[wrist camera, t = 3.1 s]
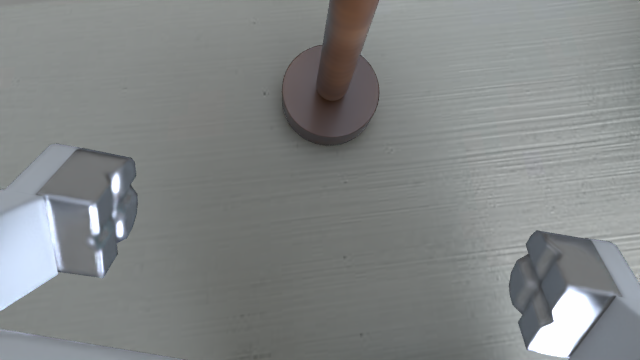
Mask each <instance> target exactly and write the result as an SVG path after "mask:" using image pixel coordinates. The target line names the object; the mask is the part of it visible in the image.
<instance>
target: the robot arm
mask: <svg viewBox="0 0 640 360" xmlns="http://www.w3.org/2000/svg"><path fill="white" fill-rule="evenodd" d="M135 177H136V167H135V161H134V160H133V159H132V158H131V157H126V156H121V155H116V154H111V153H106V152H101V151H96V150H91V149H86V148H79V147H75V146H69V145H64V144H58V143H56V144H51V145H49V146H48V147H47V148H46V149H45V150H44V151H43V152H42V153H41V154H40V155H39V156H38V157H37V158H36V159H35V160H34V161H33V162H32V163H31V164H30V165H29V166H28V167H27V168H26V169H25V170H24V171H23V172H22V173H21V174H20V175H19V176H18V177H17V178H16V179H15V180H14V181H13V182H12V183H11V184H10V185H9V186H8V187H7V188H6V189H5V190H4V189H0V311H1V310H3V309H4V308H6V307H7V306H9V305H11V304H12V303H14V302H15V301H17V300H18V299H20V298H22V297H23V296H25V295H26V294H28V293H29V292H31V291H32V290H34V289H36V288H37V287H39V286H40V285H42V284H43V283H45V282H47V281H48V280H50V279H51V278H53V277H54V276H56V275H57V274H58V272H63V273H70V274H77V275H84V276H91V277H98V278H104V276H105V275H106V273H107V271H108V270H109V268H110V266H111V264H112V263H113V261H114V259H115V258H116V256H117V254H118V250H117V243H118V242H120V241H122V240H124V239H126V238H127V237H128V235H129V233H130V232H131V230H132V228H133V225H134V221H135V218H136V215H137V206H138V197H137V193H136V191H135V190H134V189H133V188H132V186H131V183H132V182H133V180H134V179H135ZM526 247H527V250H528V253H529V254H527V255H526V256H524V257H522V258H520V259H519V260H517V261H516V264H515V266H514V268H513V270H512V272H511V276H510V282H509V292H510V297H511V301H512V304H513V306H514V307H515V308H516V309H517V310H518V311H519V312H520V313H521V314H522V317H521V318H520V320H519V322H518V324H519V327H520V330H521V333H522V336H523V339H524V343H525V346H526V349H527V350H529V351H535V352H540V353H545V354H550V355H555V356H560V357H565V358H569V360H640V283H639V282H638V280H637V278H636V277H635V275H634V273H633V272H632V270H631V268H630V267H629V265H628V264H627V262H626V260H625V259H624V257H623V255H622V254H621V252H620V250H619V249H618V247H617V246H616V245H615V244H613V243H612V242H609V241H603V240H596V239H589V238H585V239H584V238H578V237H572V236H567V235H561V234H555V233H549V232H543V231H538V230H537V231H536V232H534V233H533V234H532V235H531V236H530V238H529V240H528V242H527V243H526ZM0 360H186V359H180V358H174V357H168V356H162V355H156V354H150V353H144V352H138V351H131V350H125V349H119V348H113V347H107V346H101V345H95V344H89V343H83V342H77V341H71V340H65V339H58V338H52V337H46V336H40V335H34V334H28V333H22V332H16V331H10V330H4V329H0Z"/></svg>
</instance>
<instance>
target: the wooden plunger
mask: <svg viewBox="0 0 640 360" xmlns="http://www.w3.org/2000/svg"><path fill="white" fill-rule="evenodd" d="M378 2H379V0H330V2H329V8H328V14H327V20H326V26H325V32H324V39H323V45H319V46H315V47H312V48H309V49H307V50H306V51H304V52H302V53H301V54H299V55H298V56H297V57H296V58H295V59H294V60H293V61H292V63H291V64H290V65H289V67H288V69H287V71H286V73H285V75H284V79H283V85H282V101H283V110H284V113H285V116H286V118H287V121H288V122H289V124H290V125H291V127H292V128H293V129H294V130H295V131H296V132H297V133H298V134H299V135H300V136H302V137H303V138H305V139H306V140H308V141H310V142H313V143H316V144H320V145H338V144H342V143H345V142H348V141H350V140H352V139H353V138H355V137H356V136H358V135H359V134H360V133H361V132H362V131H363V130H364V129H365V127H366V126H367V124H368V123H369V121H370V119H371V118H372V116H373V114H374V112H375V110H376V107H377V105H378V100H379V84H378V80H377V77H376V74H375V72H374V70H373V68H372V67H371V65H370V64H369V63H368V62H367V60H366V59H365V58H364V57H362V56H361V55H360V54H361V51H362V48H363V45H364V42H365V39H366V36H367V34H368V31H369V28H370V25H371V22H372V19H373V17H374V14H375V11H376V8H377V5H378Z"/></svg>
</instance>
